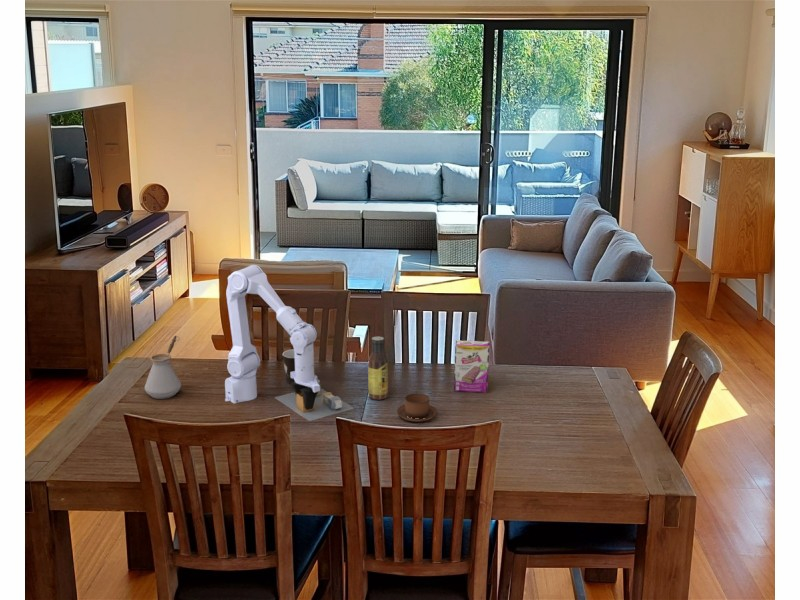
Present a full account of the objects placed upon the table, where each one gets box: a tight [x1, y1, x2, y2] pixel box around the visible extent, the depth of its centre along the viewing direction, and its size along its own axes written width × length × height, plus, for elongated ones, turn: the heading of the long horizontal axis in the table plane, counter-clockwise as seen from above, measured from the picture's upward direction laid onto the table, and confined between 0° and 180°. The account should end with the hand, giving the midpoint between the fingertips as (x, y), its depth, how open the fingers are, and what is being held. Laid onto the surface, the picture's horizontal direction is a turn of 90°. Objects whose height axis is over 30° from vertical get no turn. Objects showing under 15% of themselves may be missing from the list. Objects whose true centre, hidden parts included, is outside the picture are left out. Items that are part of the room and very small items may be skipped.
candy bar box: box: [453, 339, 491, 394], centre depth 286 cm, size 11×5×16 cm, turn 84°
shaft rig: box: [316, 378, 343, 411], centre depth 276 cm, size 6×20×4 cm, turn 36°
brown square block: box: [296, 392, 315, 413], centre depth 269 cm, size 4×4×5 cm
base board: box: [274, 387, 355, 422], centre depth 274 cm, size 16×22×2 cm
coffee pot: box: [144, 335, 182, 400], centre depth 287 cm, size 21×12×15 cm, turn 174°
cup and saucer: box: [396, 393, 437, 423], centre depth 267 cm, size 12×12×6 cm
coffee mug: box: [282, 348, 295, 386], centre depth 295 cm, size 12×9×10 cm
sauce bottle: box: [367, 335, 389, 401], centre depth 280 cm, size 7×6×20 cm
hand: (305, 406), depth 269 cm, fingers closed on brown square block, 4 cm apart
